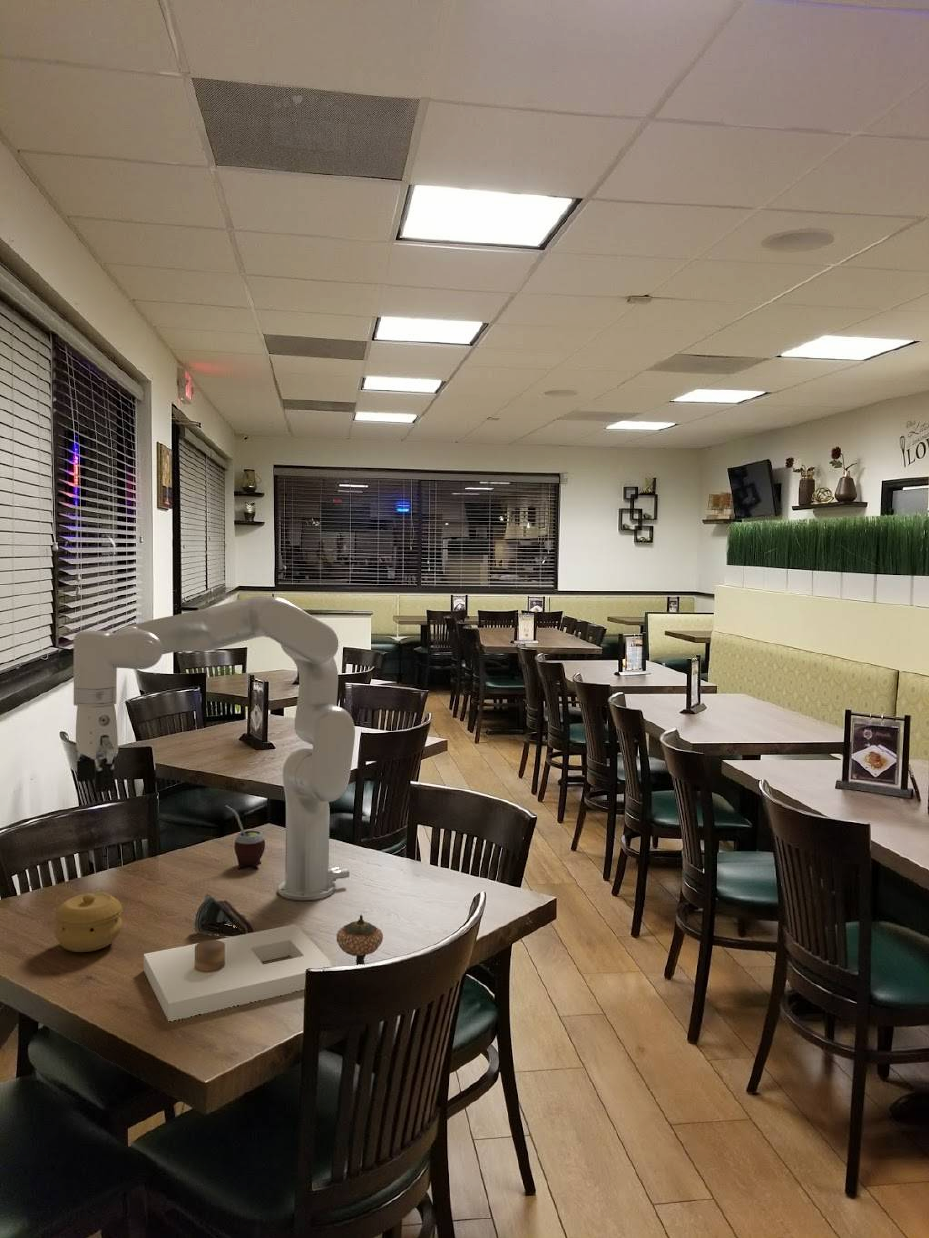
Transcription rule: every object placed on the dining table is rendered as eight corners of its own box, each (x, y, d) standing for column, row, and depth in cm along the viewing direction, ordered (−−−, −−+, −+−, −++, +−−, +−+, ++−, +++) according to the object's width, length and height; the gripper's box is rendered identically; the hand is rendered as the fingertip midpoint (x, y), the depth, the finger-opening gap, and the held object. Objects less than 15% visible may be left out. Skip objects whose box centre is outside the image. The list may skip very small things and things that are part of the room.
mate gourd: (270, 866, 211) (271, 804, 210) (242, 874, 205) (243, 811, 204) (252, 859, 216) (252, 798, 215) (224, 866, 210) (224, 804, 209)
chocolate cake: (268, 931, 175) (239, 880, 180) (250, 934, 169) (220, 882, 173) (233, 960, 176) (205, 909, 181) (213, 965, 170) (184, 912, 174)
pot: (73, 932, 172) (72, 881, 171) (132, 934, 171) (132, 883, 171) (42, 958, 160) (42, 904, 159) (106, 961, 160) (106, 907, 159)
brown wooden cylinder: (220, 957, 156) (220, 937, 155) (228, 968, 151) (228, 948, 151) (191, 963, 153) (191, 943, 153) (198, 975, 149) (198, 954, 148)
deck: (295, 939, 171) (295, 924, 170) (334, 982, 153) (334, 965, 153) (143, 970, 156) (143, 953, 156) (168, 1022, 139) (168, 1003, 139)
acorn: (327, 973, 157) (328, 918, 156) (351, 954, 164) (352, 902, 164) (367, 983, 154) (368, 927, 153) (390, 963, 161) (391, 910, 161)
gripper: (132, 700, 162) (131, 792, 163) (99, 689, 175) (98, 774, 176) (90, 704, 157) (90, 798, 158) (59, 692, 170) (59, 779, 171)
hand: (94, 785), depth 167 cm, fingers open, 9 cm apart
